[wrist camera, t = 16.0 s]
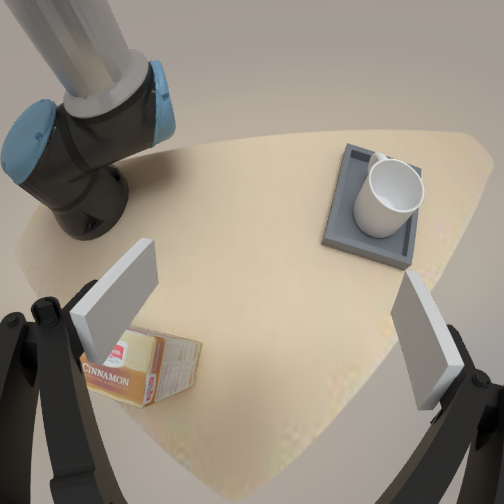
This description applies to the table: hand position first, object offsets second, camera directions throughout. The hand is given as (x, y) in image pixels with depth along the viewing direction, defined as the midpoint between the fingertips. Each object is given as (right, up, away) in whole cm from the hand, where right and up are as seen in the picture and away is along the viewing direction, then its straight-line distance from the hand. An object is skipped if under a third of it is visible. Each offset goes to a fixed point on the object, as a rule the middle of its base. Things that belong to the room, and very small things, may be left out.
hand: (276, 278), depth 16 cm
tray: (+19, +9, +33) cm, 39 cm away
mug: (+19, +9, +32) cm, 38 cm away
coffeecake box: (-16, -14, +28) cm, 35 cm away
